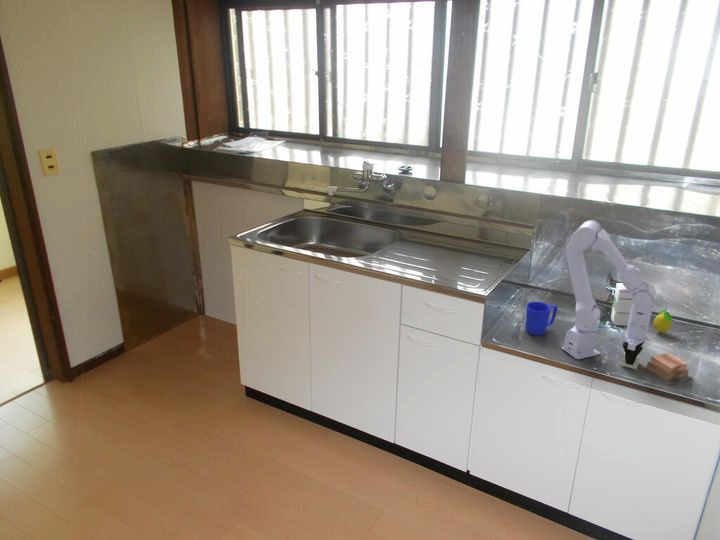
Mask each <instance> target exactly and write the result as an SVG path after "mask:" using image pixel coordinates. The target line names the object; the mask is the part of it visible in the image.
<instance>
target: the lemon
mask: <svg viewBox="0 0 720 540" xmlns="http://www.w3.org/2000/svg"><path fill="white" fill-rule="evenodd" d="M672 323H673V317H672V314H671V313H670V312H669V311H667V307H665V310H663V309H662V310H660V311H659V313H658V314H657V316H656V317H655V318H654V320H653V329H654V330H655V331H656V332H658V333H659V334H663V333H667V332H669V330H670V329H671V327H672Z"/></svg>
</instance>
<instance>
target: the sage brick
mask: <svg viewBox="0 0 720 540" xmlns="http://www.w3.org/2000/svg"><path fill="white" fill-rule="evenodd" d="M641 354H642V351H641V352H640V353H639V354H638V355H637V357H636V359H635V362H634V364H633V365H630V364H626V362H625V351H624V352H623V355H622V359H621V363H620V366H622V367H626V368H629V369H633V370H637V368H638V366H639V364H640V358H641Z"/></svg>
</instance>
